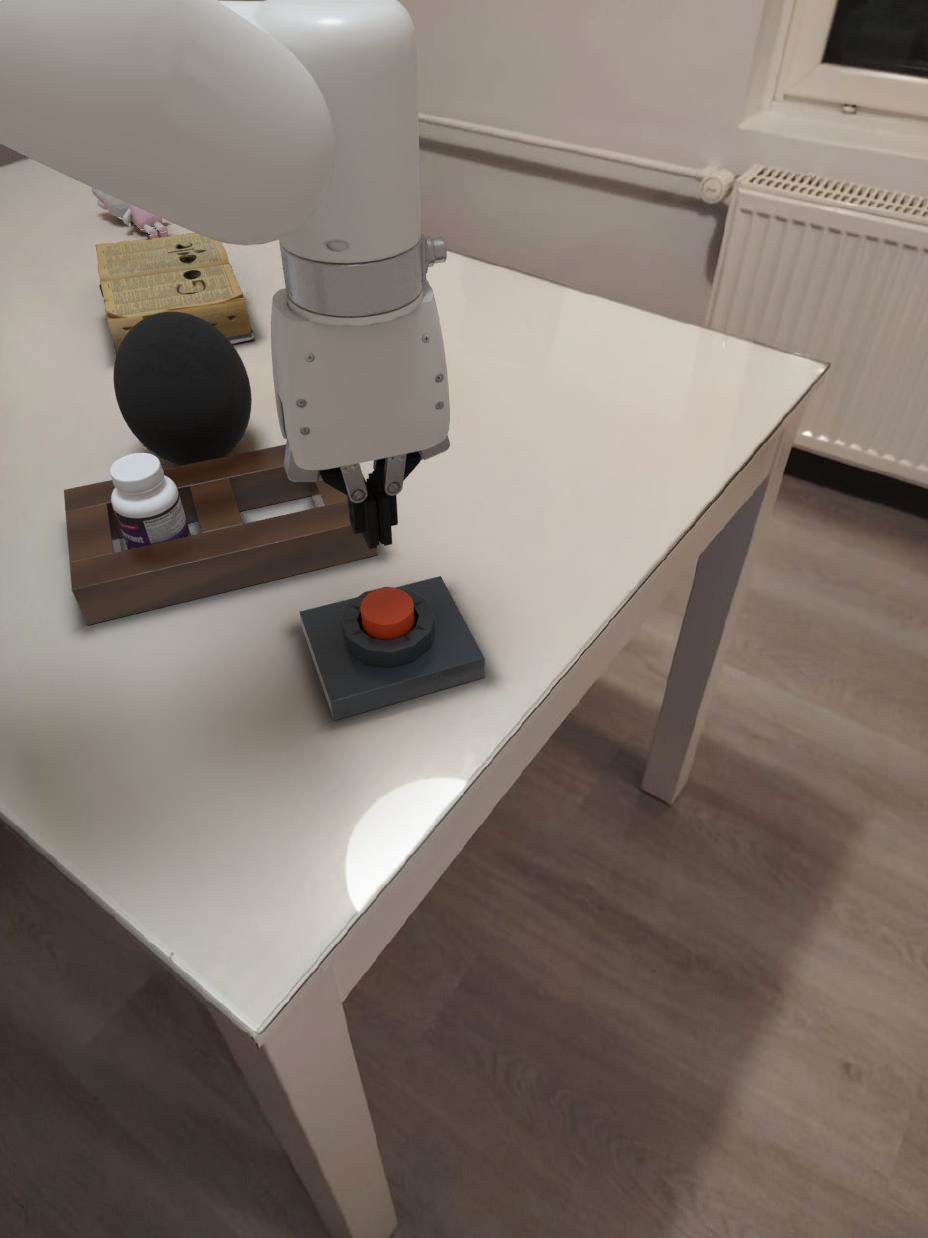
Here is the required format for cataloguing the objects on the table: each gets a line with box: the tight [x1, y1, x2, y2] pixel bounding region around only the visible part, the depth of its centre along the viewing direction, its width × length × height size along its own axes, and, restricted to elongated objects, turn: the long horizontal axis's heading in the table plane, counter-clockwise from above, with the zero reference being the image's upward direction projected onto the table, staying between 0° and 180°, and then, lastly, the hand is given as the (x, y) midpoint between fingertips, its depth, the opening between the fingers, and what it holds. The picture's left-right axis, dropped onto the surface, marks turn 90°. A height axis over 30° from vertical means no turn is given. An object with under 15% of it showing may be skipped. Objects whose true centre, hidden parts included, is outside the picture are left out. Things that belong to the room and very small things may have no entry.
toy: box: [91, 187, 169, 239], centre depth 131 cm, size 8×7×15 cm
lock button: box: [360, 587, 414, 640], centre depth 66 cm, size 4×4×2 cm
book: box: [94, 232, 255, 359], centre depth 110 cm, size 25×17×6 cm
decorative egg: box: [112, 312, 253, 466], centre depth 83 cm, size 12×12×15 cm
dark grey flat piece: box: [299, 575, 486, 722], centre depth 67 cm, size 12×10×4 cm
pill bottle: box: [109, 452, 192, 550], centre depth 74 cm, size 5×5×10 cm
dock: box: [63, 443, 379, 626], centre depth 78 cm, size 14×25×4 cm, turn 111°
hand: (374, 534), depth 60 cm, fingers closed
